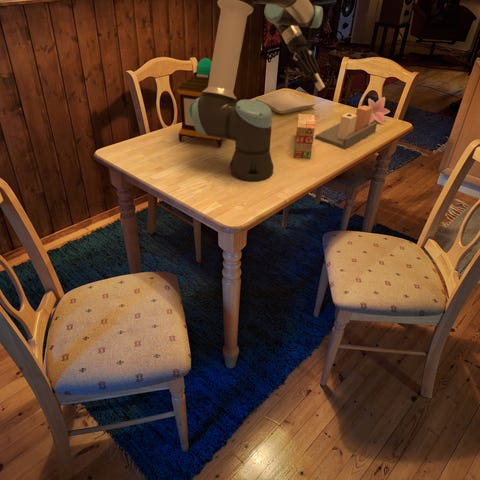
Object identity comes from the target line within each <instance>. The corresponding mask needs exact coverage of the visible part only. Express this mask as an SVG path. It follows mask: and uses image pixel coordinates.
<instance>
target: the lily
mask: <svg viewBox="0 0 480 480" xmlns="http://www.w3.org/2000/svg"><path fill="white" fill-rule="evenodd" d="M367 101H368V105H367V106H368V107H371V108H372V111H371V116H370V121H369V124H371V123H373V122H377V123H379V124H381V125H382V126H384V125H385V115H386V114H389V113H390V112H391V111H390V110H389V109H387V108H385V104H386V97H385V96H383V97H381V98H380V99H378V100H376V102H375V101H374V99H371V97H370V98H368V99H367Z"/></svg>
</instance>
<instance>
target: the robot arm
mask: <svg viewBox="0 0 480 480" xmlns="http://www.w3.org/2000/svg"><path fill="white" fill-rule="evenodd" d="M255 4H258V5H259V4H260V5H265V7H264V11H263V13H264V17H265V19H267V21H268V22H269V23H270V24H273V26H275V27H276V29H278V32H279V34H280V35H281V36H282V39H283V40H284V42H285V44H286V46H287V48H288V50H289V52H290V53H293V57H292V58H291V60H292V61H293V62H294V63H295V64H296V65H297V67H299V69H300V70H301V72H302V73H303V74H304V76H305V77H307V78H308V79H310V78H311V81H312V82H313V84H314V85H315V87H316V89H317V91H322V90H323V89H324V88H325V87H326V86H325V84H324V82H323V80H322V78H321V76H320V75H319V73H320V72H321V71H320V66H319V64H318V62H317V59H316V56H315V51H314V50H312V49H311V50H309V48H308V47H307V45H306V44H307V40H306V38H305V36H304V35H303V34H302V32H303V31H301V29H300V27H302V28H303V27H304V28H310V29H313V28H314V29H318V28H319V27H320V26H321V25H322V21H323V17H324V11H323V10H324V8H323V7H322V6H319V5H313V4H312V3H311V1H310V0H217V6H218V7H219V9H220V14H219V19H218V25H217V31H216V37H215V41H214V42H215V44H214V48H213V54H212V60H211V61H212V65H211V71H210V76H209V82H208V87H207V88H206V89H205V90H203V91H202V96H201V97H199V98H197V99H196V100H195V103H193V106H192V122H193V125H194V128H195V129H196V131H197V132H199V133H201V134H204V135H207V136H213V137H218V138H223V140H224V139H225V140H230V141H233V142H234V143H235V146H234V148H235V149H234V152H233V155H232V158H231V160H230V163H229V172H230V175H232V176H233V177H235V178H236V179H239V180H241V181H244V182H245V181H247V182H259V181H265V180H266V179H269V178H271V176H272V175H273V174H274V167H275V166H274V162H273V161H272V160H273V159H272V156H271V151H270V150H271V149H270V148H271V136H272V126H273V119H272V118H273V113H272V112H273V111H272V109H270V108H269V107H268V106H267V105H266V104H264V103H262V102H260V101H256V100H255V99H251V98H250V99H247V98H246V99H240V100H238V101H237V97H236V96H235V94H234V89H235V84H236V78H237V73H238V67H239V64H240V62H239V61H240V57H241V52H242V47H243V42H244V35H245V31H246V30H245V29H246V24H247V19H248V16H250V15H251V14H252V13H253V12H254V7H255Z"/></svg>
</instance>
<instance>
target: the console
mask: <svg viewBox="0 0 480 480" xmlns="http://www.w3.org/2000/svg"><path fill="white" fill-rule="evenodd" d="M377 125H378V122H377V121H372V122H371V123H369V125H368V126H366V127H364V128H362V129H360V130H359V131H355V130H354V133H353V134H351V135H349V136H348V137H346V138H344V140H342V139H339V138H338V132H339V126H340V122H339V123H337V124H335V125H333V126H331V127H329V128H327V129H326V130H323V131H321V132H319V133H318V134H315V135H314V136H315V137H314V139H315V140H317V141H320V142H323V143H325V144H330V145H331V146H334V147H338V148H340V149H342V150H347V149H349V148H350V147H351V146H353V145H355V144H357V143H359V142H360V141H362V140H363V139H366V138H367V137H369V136H371V135H372V134H374V133H375V132H376V129H377Z"/></svg>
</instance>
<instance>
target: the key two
mask: <svg viewBox="0 0 480 480" xmlns="http://www.w3.org/2000/svg"><path fill="white" fill-rule="evenodd" d="M368 106H369V105H362V106H359V107H357V108H356V114H355V115H357V119H356V124H355V129H354V130H355V131H359V130H360V129H362V128H364V127H366V126H368V125H370V123H369V121H370V116H371V111H372V108H371V107H368Z"/></svg>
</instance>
